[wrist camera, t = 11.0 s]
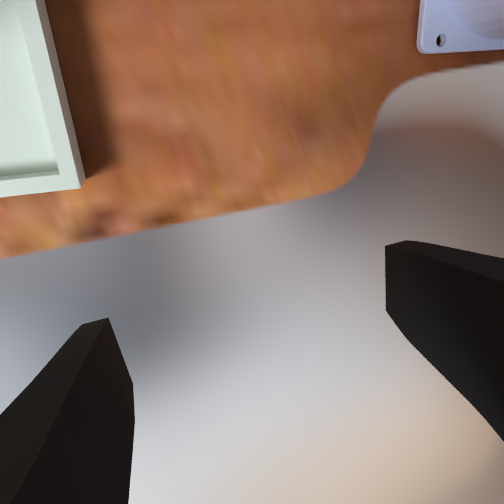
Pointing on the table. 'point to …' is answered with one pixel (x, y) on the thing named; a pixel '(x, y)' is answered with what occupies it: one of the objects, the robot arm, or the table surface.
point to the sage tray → (33, 106)
